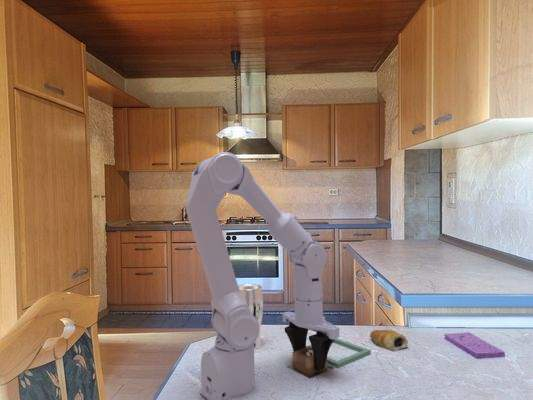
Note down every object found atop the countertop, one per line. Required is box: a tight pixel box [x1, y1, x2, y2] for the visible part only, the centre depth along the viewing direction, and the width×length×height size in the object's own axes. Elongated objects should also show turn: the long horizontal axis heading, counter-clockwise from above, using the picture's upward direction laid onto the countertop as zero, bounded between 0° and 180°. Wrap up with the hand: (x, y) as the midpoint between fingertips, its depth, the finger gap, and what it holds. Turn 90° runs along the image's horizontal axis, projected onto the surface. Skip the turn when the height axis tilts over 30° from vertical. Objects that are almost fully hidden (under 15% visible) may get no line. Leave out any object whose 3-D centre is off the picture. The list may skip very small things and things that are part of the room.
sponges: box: [443, 332, 506, 360], centre depth 87 cm, size 7×13×2 cm, turn 5°
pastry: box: [369, 329, 409, 352], centre depth 90 cm, size 9×7×4 cm
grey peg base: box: [286, 350, 335, 379], centre depth 75 cm, size 7×7×4 cm
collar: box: [292, 345, 328, 375], centre depth 75 cm, size 5×5×3 cm
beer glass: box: [238, 283, 264, 350], centre depth 88 cm, size 7×7×15 cm
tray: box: [306, 338, 372, 369], centre depth 82 cm, size 11×11×2 cm
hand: (309, 364), depth 75 cm, fingers closed on collar, 5 cm apart
